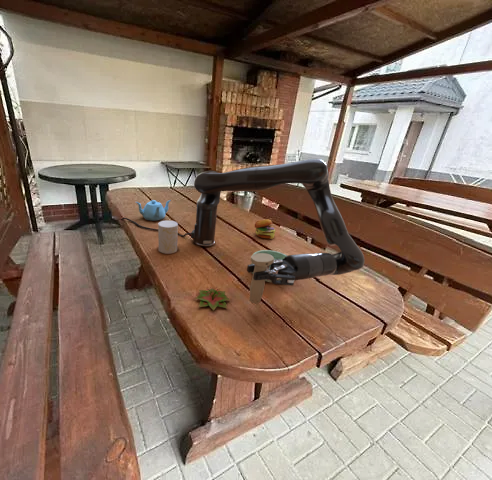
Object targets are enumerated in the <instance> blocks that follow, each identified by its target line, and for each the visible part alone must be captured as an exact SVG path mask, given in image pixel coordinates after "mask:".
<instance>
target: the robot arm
mask: <svg viewBox="0 0 492 480" xmlns="http://www.w3.org/2000/svg"><path fill="white" fill-rule="evenodd" d="M328 170H329V169H328V165H327V164H326V162H324V160H322V159H319V158H309V159H303V160H299V161H294V162H289V163H281V164H269V165H268V164H267V165H258V166H249V167H248V166H247V167H243V168H238V169H234V170H229V171H225V172H218V171H216V170H206V171H202V172H200V173H198V174H197V175H196V176H195V177H194V180H193V185H194V186H193V187H194V189H195V190H196V191H197V192H198V193H199V194H200V196H199V197H198V199H197V201H196V209H195V210H196V214H195V223H194V227H193V228H194V229H192V231H191V232H186V233H184V234H180V233H179V232H178V236H179V237H182V238H184V237H186V236H190V239H193V245H197V246H199V247H205V248H206V247H207V248H208V247H213V246H214V245H215V241H216V240H215V238H216V228H217V217H218V216H217V215H218V205H219V204H220V202H219V200H221V193H222V192H261V191H267V190H270V189H273V188H275V187H278V186H281V185H288V184H302V186H303V187H304V188H305V190H306V192H307V193H308V194H309V197H310V198H311V200H312V202H313V206H314V208H315V210H316V214H317V218H318V221H319V225H320V228H321V231H322V234H323V236H324V239H325V242H326V244H327V245H328V246H330V247H335V246H336V247H337V248H338V249H339V250H340V251H339V252H336V253H330V252H316V253H297V254H289V255H287V256H286V257H285V258H284V259H283V260H280V259H276V260H275V259H274V261H273V263H272V264H271V265H269V266H267V269H266V271H261V272H255V273H254V276H253V275H252V277H253V279H254V280H265V279H267V280H269V281H270V280H271V281H272V282H271V284H273V285H281V286H282V285H283V286H294V285H295V281H301V280H308V279H309V280H310V279H314V278H317V277H324V276H325V277H326V276H341V275H345V274H348V273H352V272H356V271H359V270H361V269H362V268H364V266H365V263H366V261H365V259H366V258H365V255H364V253H363V251H362V250H361V248H360V247H359V246H358V245H357V243H356V242H355V240H354V239H353V238H352V236H351V235H350V234H349V231H348V228H347V226H346V223H345V221H344V218H343V217H342V214H341V212H340V210H339V207H338V206H337V204H336V202H335V200H334V198H333V195H332V191H331V187H330V180H329V178H330V177H329V171H328ZM218 203H219V204H218ZM123 220H127V221H129V222H130V223H133V224H134V225H136V226H137V227H139V228H142V229H145V230H150V231H157V232H158V228H152V227H147V226H143V225H142V224H139V223H137V222H136V221H134V220H132V219H130V218H128V217H122V218H121V219H120V221H123ZM271 256H272V255H271ZM254 268H255V265H254V264H251V263H250V264H247V266H246V271H247V273H250V274H251V273H252V272H254ZM269 268H270V269H269ZM278 279H281V280H280V281H279V280H278Z"/></svg>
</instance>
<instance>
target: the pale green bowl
mask: <svg viewBox="0 0 492 480" xmlns="http://www.w3.org/2000/svg"><path fill="white" fill-rule="evenodd" d="M258 253H266V254H270V255H272V256H273V257H274V259H275V260H276V259H280V260H283V259H284V258H285V257H286V256H288V255H287V254H285V253H283V252H280V251H277V250H270V249H262V250H257V251H255V252H253V254H252V255H254V254H258ZM250 264H253V263H252V262H251V261H250ZM269 269H270V268H269ZM251 274H253V272H251ZM278 280H279V281H280V280H281V279H278ZM265 282H267V283H272V281H271V280H270V281H269V280H267V279H265Z"/></svg>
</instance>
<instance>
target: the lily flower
mask: <svg viewBox="0 0 492 480" xmlns="http://www.w3.org/2000/svg"><path fill="white" fill-rule="evenodd" d="M209 288H210V289H209ZM209 288H207V289H198V290H199V291H198V292H199V295H197V296H196V297H195V299H196V300H200V301H199V305H198V308H202V307H209V308H211V309H212V311H213V312H214V311H215V310H216V308H217V307H220V308H224V309H228V305H227V303H226V301H231V299H230V298H229V297H228V296H227V295H226V290H219V288H218V286H216V287H215V289H214V288H212V287H211V286H209Z"/></svg>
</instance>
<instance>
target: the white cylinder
mask: <svg viewBox="0 0 492 480" xmlns="http://www.w3.org/2000/svg"><path fill="white" fill-rule="evenodd" d="M157 226H158V227H157V229H158V231H157V233H158V234H157V235H158V242H157V243H158V252H160V253H162V254H166V255H168V254H174V253H177V252H178V238H179V237H178V236H179V235H178V233H179V232H178V231H179V223H178V221H175V220H160V221H159V222H158V223H157Z"/></svg>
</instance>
